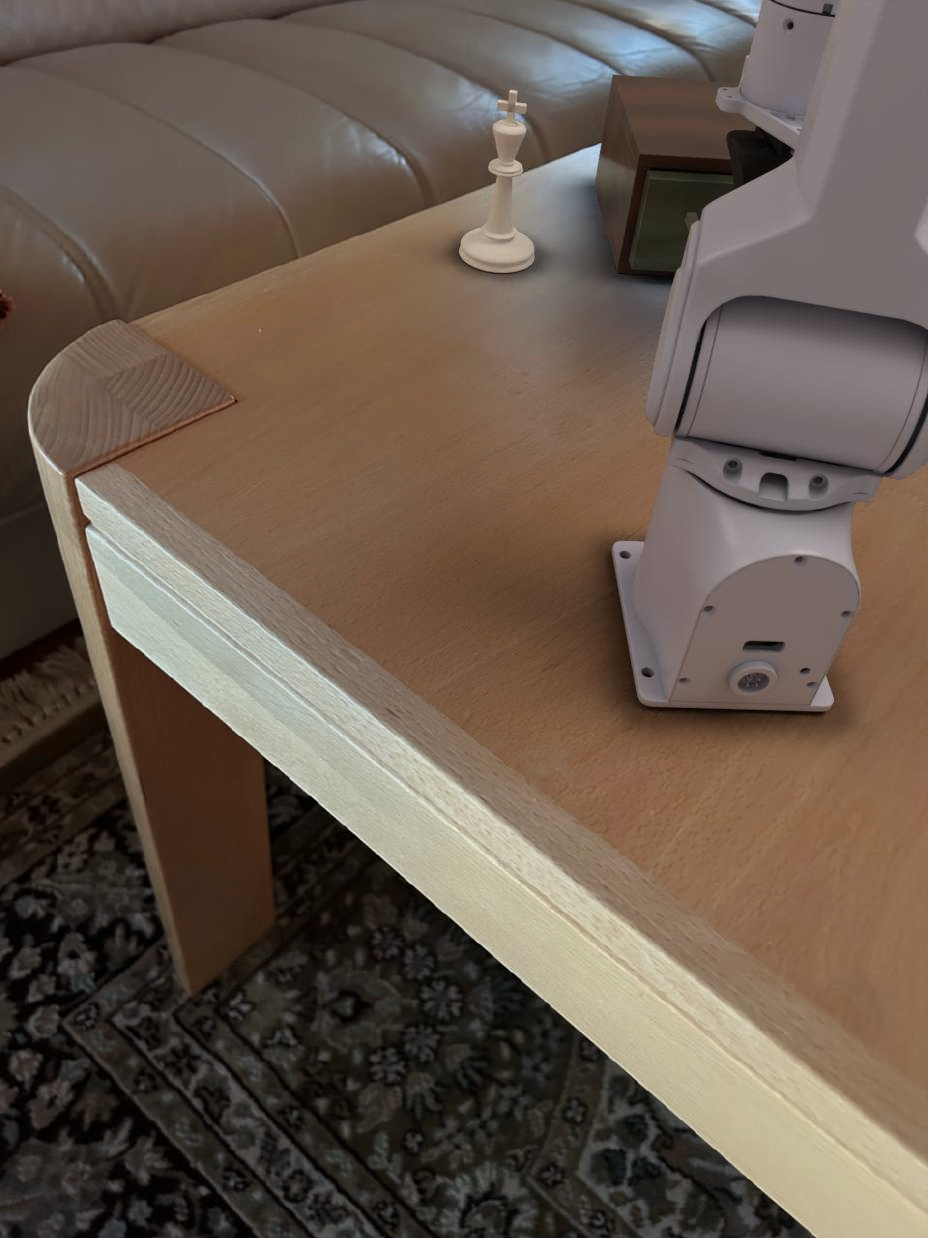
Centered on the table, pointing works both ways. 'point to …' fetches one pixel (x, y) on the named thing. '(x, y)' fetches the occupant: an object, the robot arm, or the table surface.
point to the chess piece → (501, 203)
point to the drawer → (671, 215)
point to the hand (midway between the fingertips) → (748, 267)
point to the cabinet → (656, 146)
